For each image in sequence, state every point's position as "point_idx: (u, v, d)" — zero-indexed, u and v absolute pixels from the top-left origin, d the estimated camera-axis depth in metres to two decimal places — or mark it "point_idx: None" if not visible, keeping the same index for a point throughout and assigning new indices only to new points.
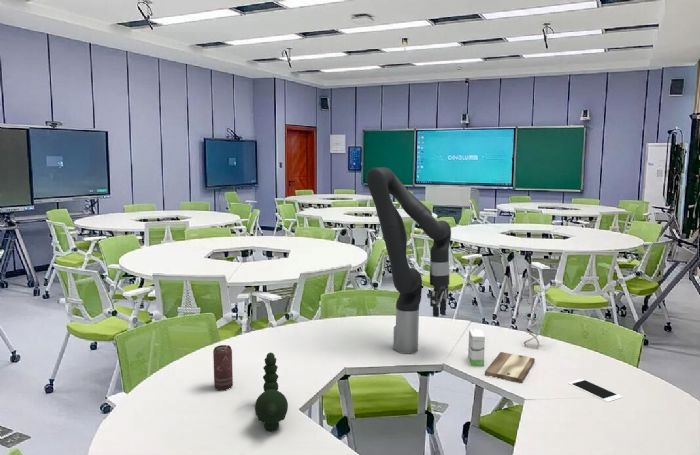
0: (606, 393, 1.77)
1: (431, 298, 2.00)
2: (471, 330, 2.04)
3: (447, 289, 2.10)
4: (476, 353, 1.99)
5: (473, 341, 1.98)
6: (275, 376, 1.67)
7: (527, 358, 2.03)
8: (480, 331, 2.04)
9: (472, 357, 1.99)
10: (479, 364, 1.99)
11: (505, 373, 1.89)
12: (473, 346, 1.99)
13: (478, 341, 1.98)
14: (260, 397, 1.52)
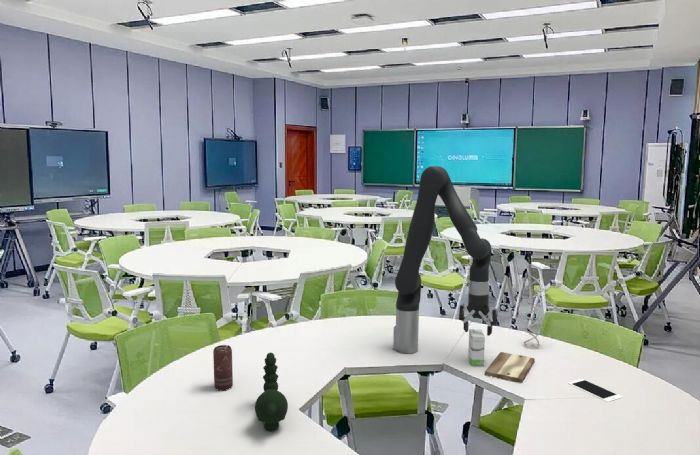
0: (606, 393, 1.77)
1: (496, 317, 1.97)
2: (471, 330, 2.04)
3: None
4: (476, 353, 1.99)
5: (473, 341, 1.98)
6: (275, 376, 1.67)
7: (527, 358, 2.03)
8: (480, 331, 2.04)
9: (472, 357, 1.99)
10: (479, 364, 1.99)
11: (505, 373, 1.89)
12: (473, 346, 1.99)
13: (478, 341, 1.98)
14: (260, 397, 1.52)
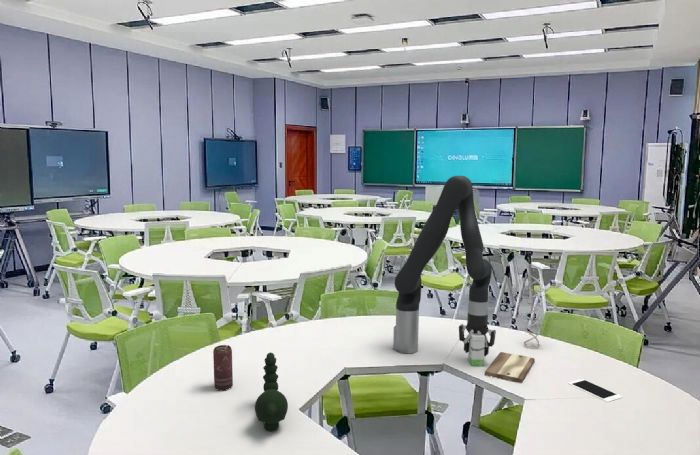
0: (606, 393, 1.77)
1: (493, 338, 1.98)
2: None
3: None
4: (476, 353, 1.99)
5: (473, 341, 1.98)
6: (275, 376, 1.67)
7: (527, 358, 2.03)
8: None
9: (472, 357, 1.99)
10: (479, 364, 1.99)
11: (505, 373, 1.89)
12: (473, 346, 1.99)
13: (478, 341, 1.98)
14: (260, 397, 1.52)
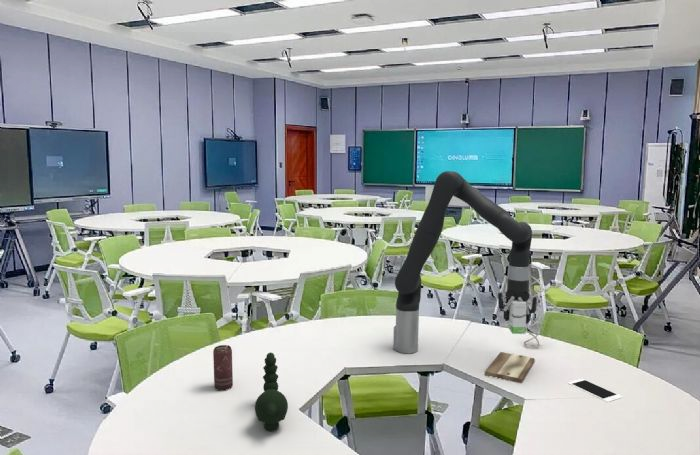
0: (606, 393, 1.77)
1: (535, 304, 1.90)
2: None
3: None
4: (518, 320, 1.90)
5: (514, 308, 1.90)
6: (275, 376, 1.67)
7: (527, 358, 2.03)
8: None
9: (513, 324, 1.91)
10: (521, 332, 1.91)
11: (505, 373, 1.89)
12: (514, 313, 1.90)
13: (519, 307, 1.90)
14: (260, 397, 1.52)
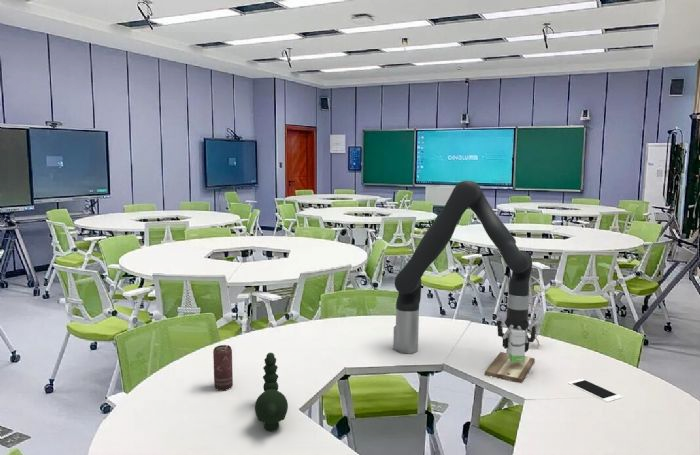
0: (606, 393, 1.77)
1: (534, 333, 1.91)
2: None
3: None
4: (517, 349, 1.92)
5: (513, 336, 1.91)
6: (275, 376, 1.67)
7: (527, 358, 2.03)
8: None
9: (512, 353, 1.92)
10: (519, 360, 1.92)
11: (505, 373, 1.89)
12: (513, 341, 1.91)
13: (519, 336, 1.91)
14: (260, 397, 1.52)
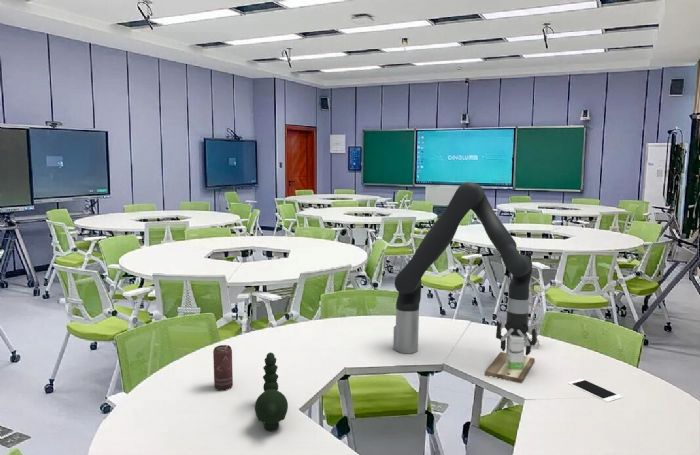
0: (606, 393, 1.77)
1: (535, 336, 1.91)
2: None
3: None
4: (515, 355, 1.92)
5: (512, 343, 1.92)
6: (275, 376, 1.67)
7: (527, 358, 2.03)
8: None
9: (511, 360, 1.93)
10: (518, 367, 1.93)
11: (505, 373, 1.89)
12: (512, 348, 1.92)
13: (517, 343, 1.91)
14: (260, 397, 1.52)
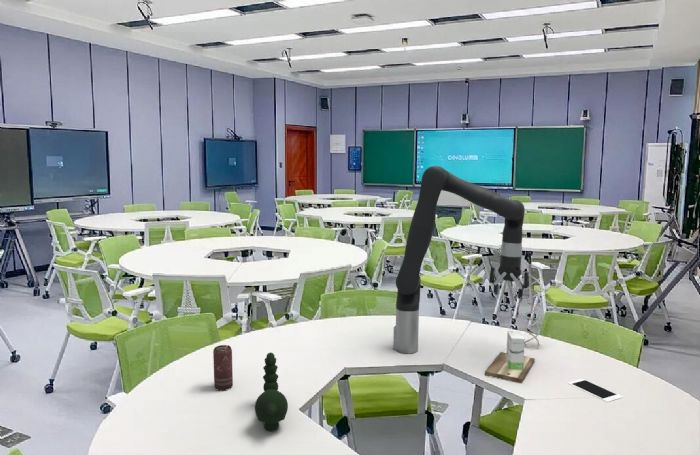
0: (606, 393, 1.77)
1: (527, 279, 1.95)
2: (510, 332, 1.98)
3: None
4: (515, 355, 1.92)
5: (512, 343, 1.92)
6: (275, 376, 1.67)
7: (527, 358, 2.03)
8: (519, 333, 1.97)
9: (511, 360, 1.93)
10: (518, 367, 1.93)
11: (505, 373, 1.89)
12: (512, 348, 1.92)
13: (517, 343, 1.91)
14: (260, 397, 1.52)
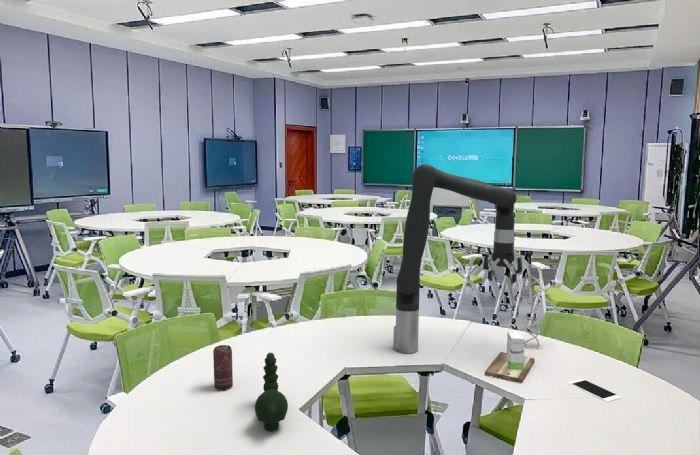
0: (606, 393, 1.77)
1: (521, 264, 2.00)
2: (510, 332, 1.98)
3: None
4: (515, 355, 1.92)
5: (512, 343, 1.92)
6: (275, 376, 1.67)
7: (527, 358, 2.03)
8: (519, 333, 1.97)
9: (511, 360, 1.93)
10: (518, 367, 1.93)
11: (505, 373, 1.89)
12: (512, 348, 1.92)
13: (517, 343, 1.91)
14: (260, 397, 1.52)
